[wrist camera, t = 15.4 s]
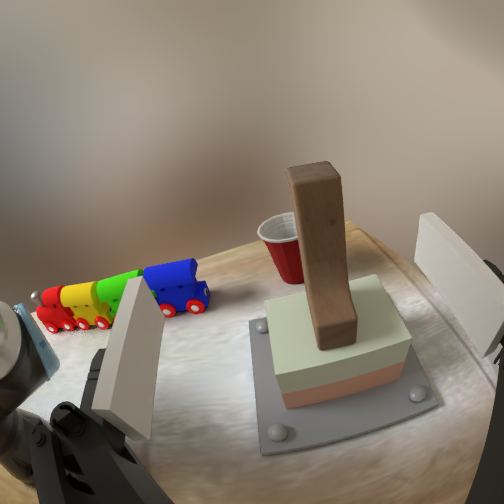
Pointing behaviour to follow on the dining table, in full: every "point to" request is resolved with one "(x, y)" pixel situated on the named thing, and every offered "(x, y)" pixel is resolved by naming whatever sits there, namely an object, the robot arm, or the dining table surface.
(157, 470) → the dining table surface
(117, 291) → the toy train
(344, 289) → the wooden block
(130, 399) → the robot arm
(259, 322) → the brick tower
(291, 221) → the plastic cup
